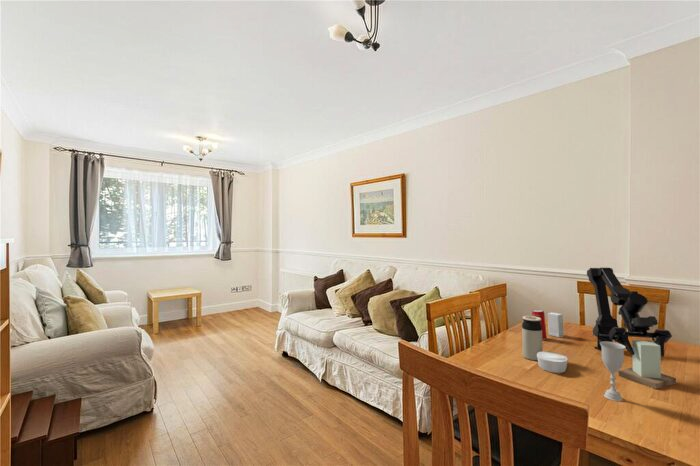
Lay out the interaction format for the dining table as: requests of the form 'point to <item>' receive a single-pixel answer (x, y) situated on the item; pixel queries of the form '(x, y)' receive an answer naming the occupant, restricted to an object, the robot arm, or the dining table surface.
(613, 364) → the chalice
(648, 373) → the sage block
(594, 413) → the dining table surface
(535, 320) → the travel mug
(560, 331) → the skincare box
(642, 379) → the walnut board
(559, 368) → the ramekin
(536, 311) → the beverage can
